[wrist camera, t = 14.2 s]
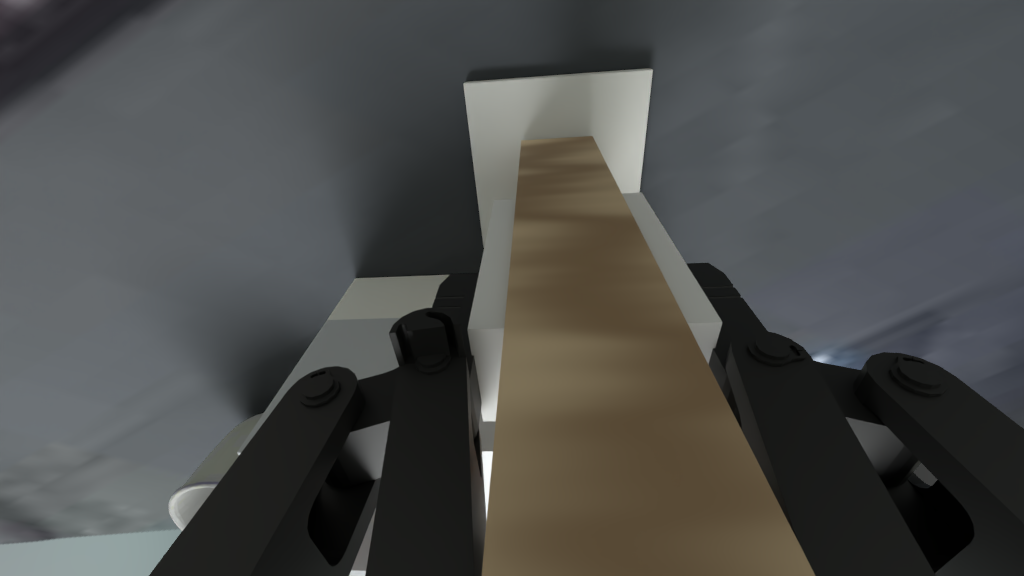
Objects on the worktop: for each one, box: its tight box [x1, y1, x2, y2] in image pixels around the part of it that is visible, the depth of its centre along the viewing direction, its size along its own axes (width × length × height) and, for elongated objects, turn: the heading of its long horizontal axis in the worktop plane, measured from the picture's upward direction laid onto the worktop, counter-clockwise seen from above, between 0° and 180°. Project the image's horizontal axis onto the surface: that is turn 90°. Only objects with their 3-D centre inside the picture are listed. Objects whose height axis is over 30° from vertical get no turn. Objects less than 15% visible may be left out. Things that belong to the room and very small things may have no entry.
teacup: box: [169, 413, 263, 531], centre depth 29 cm, size 14×11×8 cm
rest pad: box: [463, 68, 653, 247], centre depth 20 cm, size 8×8×1 cm
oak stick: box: [482, 136, 815, 576], centre depth 12 cm, size 3×3×18 cm
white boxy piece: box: [237, 275, 496, 576], centre depth 22 cm, size 16×13×12 cm
